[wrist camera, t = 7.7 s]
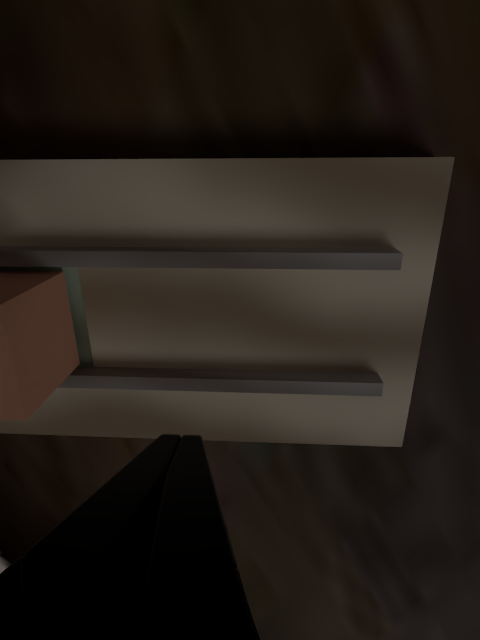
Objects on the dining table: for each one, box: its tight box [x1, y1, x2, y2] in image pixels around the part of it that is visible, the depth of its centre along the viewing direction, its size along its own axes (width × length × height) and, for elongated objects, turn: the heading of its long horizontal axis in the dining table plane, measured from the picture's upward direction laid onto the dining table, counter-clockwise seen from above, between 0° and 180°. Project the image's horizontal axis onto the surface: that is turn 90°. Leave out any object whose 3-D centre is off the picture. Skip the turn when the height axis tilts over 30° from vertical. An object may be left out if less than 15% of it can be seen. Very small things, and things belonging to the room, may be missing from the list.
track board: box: [0, 157, 455, 447], centre depth 15 cm, size 12×20×4 cm, turn 90°
